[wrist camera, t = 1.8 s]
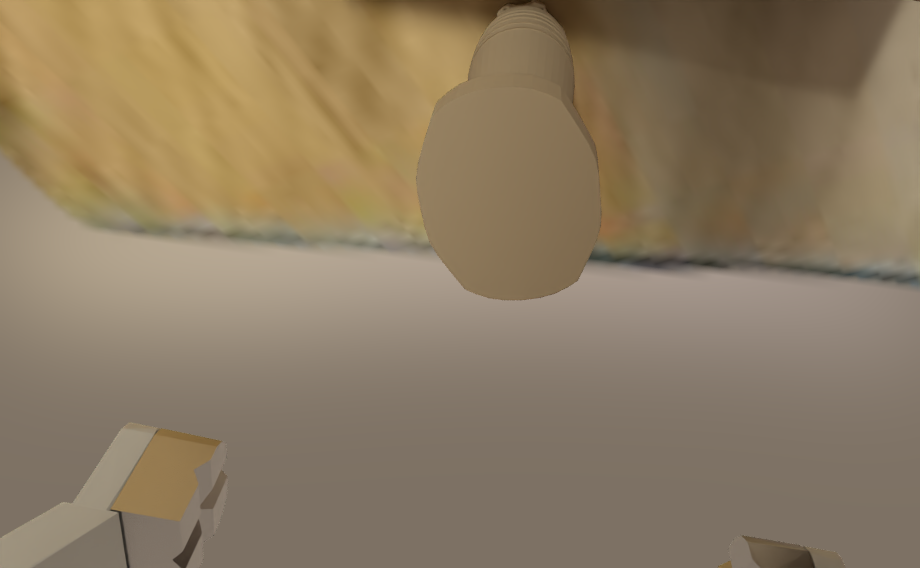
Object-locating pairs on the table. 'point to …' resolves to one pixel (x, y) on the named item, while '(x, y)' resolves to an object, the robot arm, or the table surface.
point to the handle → (512, 165)
